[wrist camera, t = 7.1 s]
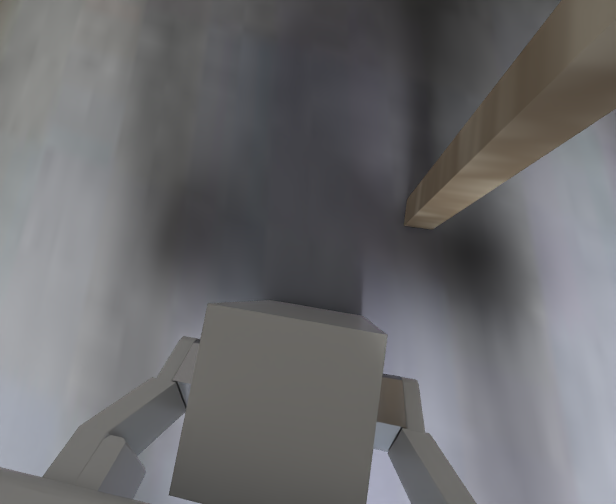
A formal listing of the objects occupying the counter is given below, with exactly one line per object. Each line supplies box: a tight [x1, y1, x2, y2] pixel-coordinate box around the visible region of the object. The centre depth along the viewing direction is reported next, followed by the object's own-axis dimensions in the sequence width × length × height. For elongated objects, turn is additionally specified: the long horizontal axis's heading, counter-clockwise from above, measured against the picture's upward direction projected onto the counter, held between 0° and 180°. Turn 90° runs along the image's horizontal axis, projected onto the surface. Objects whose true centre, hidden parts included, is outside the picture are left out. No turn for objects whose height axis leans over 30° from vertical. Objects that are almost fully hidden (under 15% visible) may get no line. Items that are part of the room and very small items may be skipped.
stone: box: [169, 300, 387, 504], centre depth 12 cm, size 5×5×8 cm
